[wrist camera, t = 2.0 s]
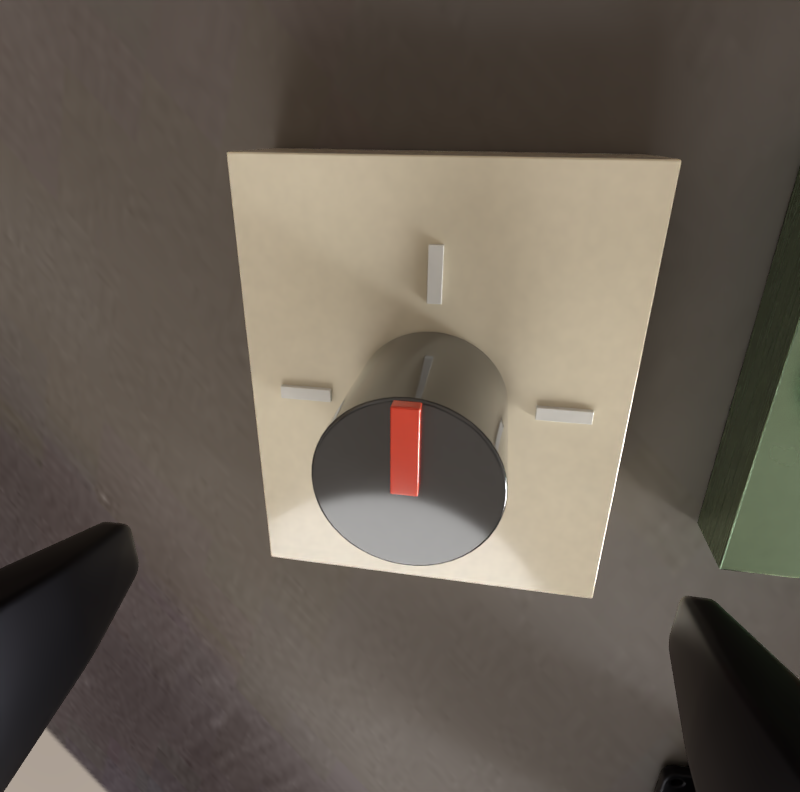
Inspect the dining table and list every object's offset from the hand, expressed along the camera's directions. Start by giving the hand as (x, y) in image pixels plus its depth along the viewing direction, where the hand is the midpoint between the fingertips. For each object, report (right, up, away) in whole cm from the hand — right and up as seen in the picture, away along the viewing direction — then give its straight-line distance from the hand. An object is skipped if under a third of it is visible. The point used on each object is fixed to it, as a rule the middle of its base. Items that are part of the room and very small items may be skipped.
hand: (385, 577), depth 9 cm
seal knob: (+1, +3, +6) cm, 6 cm away
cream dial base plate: (+2, +4, +8) cm, 10 cm away
